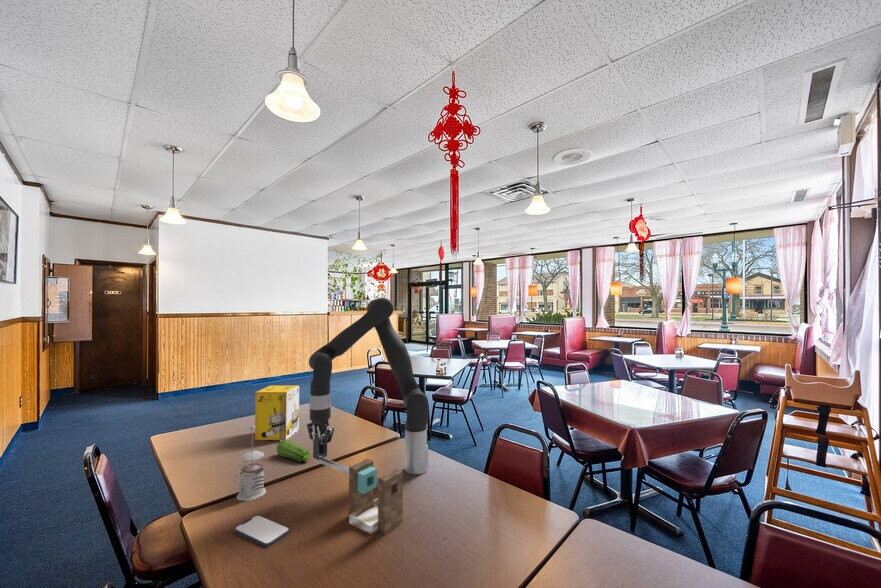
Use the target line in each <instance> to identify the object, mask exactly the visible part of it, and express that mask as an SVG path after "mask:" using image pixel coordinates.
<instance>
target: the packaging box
mask: <svg viewBox="0 0 881 588" xmlns="http://www.w3.org/2000/svg"><path fill="white" fill-rule="evenodd" d="M254 404H255V406H254V408H255V409H254V410H255V412H254V414H255V415H254V418H255V419H254V426H255V427H256V428H255V429H254V441H255V440H287V439H288V438H289V437H290V438H292V437H293V436H294V435H295V434H296V433H297V431H298V430H299V431H300V385H268V386H267V387H263V388H262V389H260V390H258V391H255V402H254ZM299 431H298V432H299ZM295 432H296V433H295ZM294 433H295V434H294ZM293 434H294V435H293ZM292 435H293V436H292ZM291 436H292V437H291ZM290 438H289V439H290ZM289 439H288V440H289Z"/></svg>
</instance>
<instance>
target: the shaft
mask: <svg viewBox="0 0 881 588" xmlns="http://www.w3.org/2000/svg"><path fill="white" fill-rule="evenodd" d="M323 441H324V438H323ZM320 445H321V444H320V438H319V437H317V438H314V439H313V440H312V457H313V459H314V460H315V462H317V463H319V464H322V465H324V466H326V467H329V468H332V469H333V470H337V471H339V472H341V473H345V474H347V475H349V467H350V466H349V467H348V466H346V465H344V464H341V463H338V462H336V461H333V460H330V459H328V458H327V457H328V451H327V452H326V454H323V455H321V454H320Z"/></svg>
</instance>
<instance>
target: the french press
mask: <svg viewBox="0 0 881 588" xmlns="http://www.w3.org/2000/svg"><path fill="white" fill-rule="evenodd" d="M255 428H256V427H255V424H253V425H251V426H249V429H250V430H252V431H251V433H252V434H251V437H252V438H251V439H252V440H251V451H247V452H246V453H244V454H242V455H241V456H239V460H240V461H241V462H245V463H248V462H251V463H248V464H246V465H245V464H242V463H241V464H239V466H237V468H236V470H235V473H234V483H235V484H236V485H237V486H239V493H237V495H236V500H238V501H243V502H247V501H248V500H249V501H253V499H254V500H256V498H257V499H259V498H261V497H263V496H264V495H265V494H266V492H267V489H266V488H265V487H264V483H265V481H264V476H265V472H264V471H265V470H264V467H263V466H264V465H263V463H257V462H254V461H257V460H260V459H262V458H263V457H264V456H265V453H264V452H262V451H259V450H254V449H253V446H254V443H253V441H254V430H255ZM253 462H254V463H253ZM240 467H241V468H240ZM239 468H240V470H239V472H238V469H239ZM237 472H238V476H236V475H237ZM248 474H249V475H248ZM236 477H237V478H236ZM236 479H238V480H236ZM237 481H238V482H237ZM238 483H239V484H238ZM260 496H261V497H260ZM258 497H259V498H258Z"/></svg>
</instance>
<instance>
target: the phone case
mask: <svg viewBox="0 0 881 588" xmlns="http://www.w3.org/2000/svg"><path fill="white" fill-rule="evenodd" d="M290 533H291V529H290V527H287V526H285V525H283V524H280V523H278V522H276V521H273V520H271V519H268V518H267V517H264V516H262V515H259V514H258V515H255V516H253V517H251V518H249V519H248V520H246V521H243V522H242V523H240V524H238V525H236V526H235V527H234V528H233V534H234V535H237V536H239V537H241V538H243V539H246V540H248V541H250V542H252V543H254V544H256V545H258V546H261V547H263V548H269V546H270V547H271V546H273V545H274V544H276V543H277V542H279V541H280V540H282V539H283V538H285V537H286V536H288V535H289V534H290Z"/></svg>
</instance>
